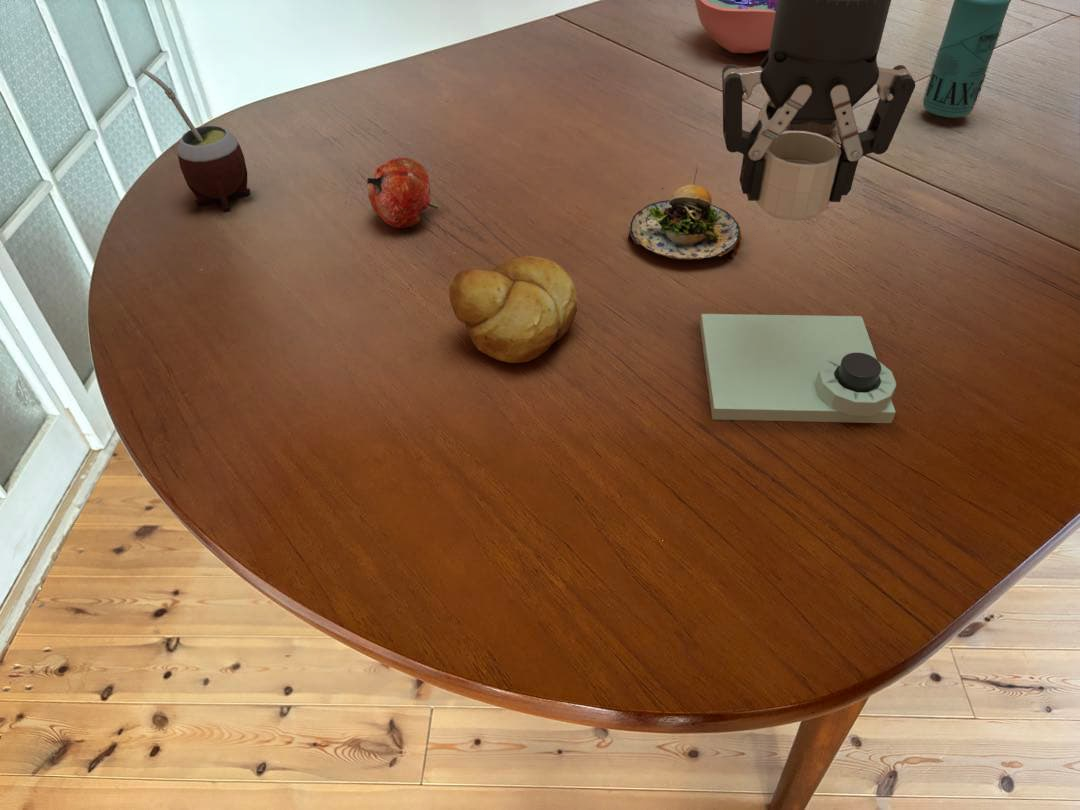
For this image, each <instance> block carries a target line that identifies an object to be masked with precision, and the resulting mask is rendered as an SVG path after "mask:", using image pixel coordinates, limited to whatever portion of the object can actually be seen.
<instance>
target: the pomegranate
mask: <svg viewBox="0 0 1080 810" xmlns="http://www.w3.org/2000/svg"><path fill="white" fill-rule="evenodd" d="M373 175H374V177H367V178H366V186H368V185H369V187H368V199H369V202H370V205H371V207H372V209H373V211H374V212H375V213H376V214H377V215H379V216H380V217H381V219H382V220H383V222H385V223H386V224H388V225H389V226H391V227H394V228H396V229H405V228H410V227H412V226H414V225H416V224H418V223H419V222H420V221H421V212H423V211H424V210H427V209H428V207H431V208H434V209H436V210H438V209H439V206H437V205H434V204H431V196H430V195H431V183H430V180H429V174H428V171H427V170H426V168H425V167H424V166H423V165H422V164H421V163H420V162H419V161H417V160H415V159H412V158H409V157H396V158H393V159H389V160H388V161H387V162H386V163H385V164H382V165H379V166H378V167H376V169H375V171H374V174H373Z"/></svg>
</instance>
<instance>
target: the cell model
mask: <svg viewBox="0 0 1080 810" xmlns="http://www.w3.org/2000/svg"><path fill="white" fill-rule="evenodd" d="M777 1H778V0H694V3H695V8H696V12H697V16H698V19H699V23H700V24H701V26H702V28H703V29H704V31H705V32H706V33H707V35H708V37H709V38H710V39H711V40H712V41H714V42H715V43H717V44H718V46H720V47H721V48H723V49H724V50H726V51H728V52H729V53H733V54H756V53H763V52H768V51H769V48H770V43H771V37H772V31H773V25H774V19H775V13H776V7H777Z"/></svg>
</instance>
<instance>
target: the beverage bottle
mask: <svg viewBox="0 0 1080 810" xmlns="http://www.w3.org/2000/svg"><path fill="white" fill-rule="evenodd" d="M1011 2H1012V0H953V4H952V6H951V9H950V13H949V16H948V18H947V19H948V20H947V23H946V26H945V30H944V33H943V36H942V39H941V43H940V46H939V48H938V50H936V56H935V60H933V63H932V69H931V72H930V74H929V76H928V79H927V84H926V85H925V89H924V93H923V94H924V95H923V99H922V102H923V108H924V109H925V110H926V111H927V112H929V113H931V114H934V115H936V116H940V117H945V118H962V117H966V116H968V115H970V114H971V113H972V111H973V109H975V106H976V105H977V101H978V99H979V97H980V94H981V90H982V87H983V84H984V81H985V79H986V78H985V77H986V76H987V73H988V70H989V67H990V66H989V64H990V61H991V58H992V55H993V54H994V53H995V52H994V51H995V50H996V47H997V45H998V41H999V38H1000V36H1001V34H1002V33H1001V32H1002V29H1003V28H1004V27H1003V23H1004V20H1005V18H1006V15H1007V12H1008V9H1009V6H1010V3H1011Z"/></svg>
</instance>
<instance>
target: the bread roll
mask: <svg viewBox="0 0 1080 810" xmlns="http://www.w3.org/2000/svg"><path fill="white" fill-rule="evenodd" d="M448 297H449V298H448V299H449V303H450V306H451V308H452V310H453V313H454V316H455V317H456V319H457V320H458V321H459V322H461V323H463V324H465V329H466V330H467V332H468V333H469V338H470V339H471V341H472V343H473V345H474V346H475V347H476V349H477V350H478V351H480V352H481V353H482V354H485V355H487V357H490V358H492V359H495V360H497V361H499V362H505V363H508V364H520V363H527V362H529V361H531V360H534V359H536V358H538V357H539V356H541V355H543V354H545V352H546V351H547V350H549V348H550V347H551V346H552V345H553V344H554V343H555V342H557V341H558V340H560V339H561V338H562V337H563V336H564V335H565V334H566V333H567V332H568V331H569V330H570V329H571V327H572V324H573V322H574V320H575V317H576V315H577V313H578V305H577V304H578V302H579V300H578V293H577V289H576V287H575V284H574V282H573V280H572V278H571V277H570V275H569V274H568V273H567V272H566V271H565V270H564V269H563V268H562V266H560V265H559V264H557V263H556V262H555V261H552V260H550V259H548V258H545V257H538V256H535V255H524V256H519V257H514V258H511V259H507V260H506V261H504V262H503V263H501V264H499V265H497V266H496V267H494V268H492V270H485V269H475V268H468V269H465V270H462V271H459V272H458V273H456V274H455V275H454V276H453V277H452V279H451V281H450V283H449V286H448Z"/></svg>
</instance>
